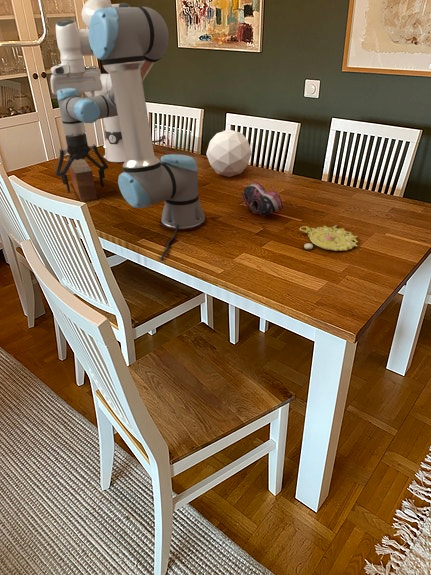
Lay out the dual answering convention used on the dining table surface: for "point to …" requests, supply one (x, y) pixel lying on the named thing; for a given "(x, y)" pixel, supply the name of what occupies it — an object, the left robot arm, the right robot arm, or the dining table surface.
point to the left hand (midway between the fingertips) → (80, 104)
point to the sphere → (229, 153)
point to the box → (82, 180)
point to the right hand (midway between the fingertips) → (85, 189)
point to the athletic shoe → (261, 200)
